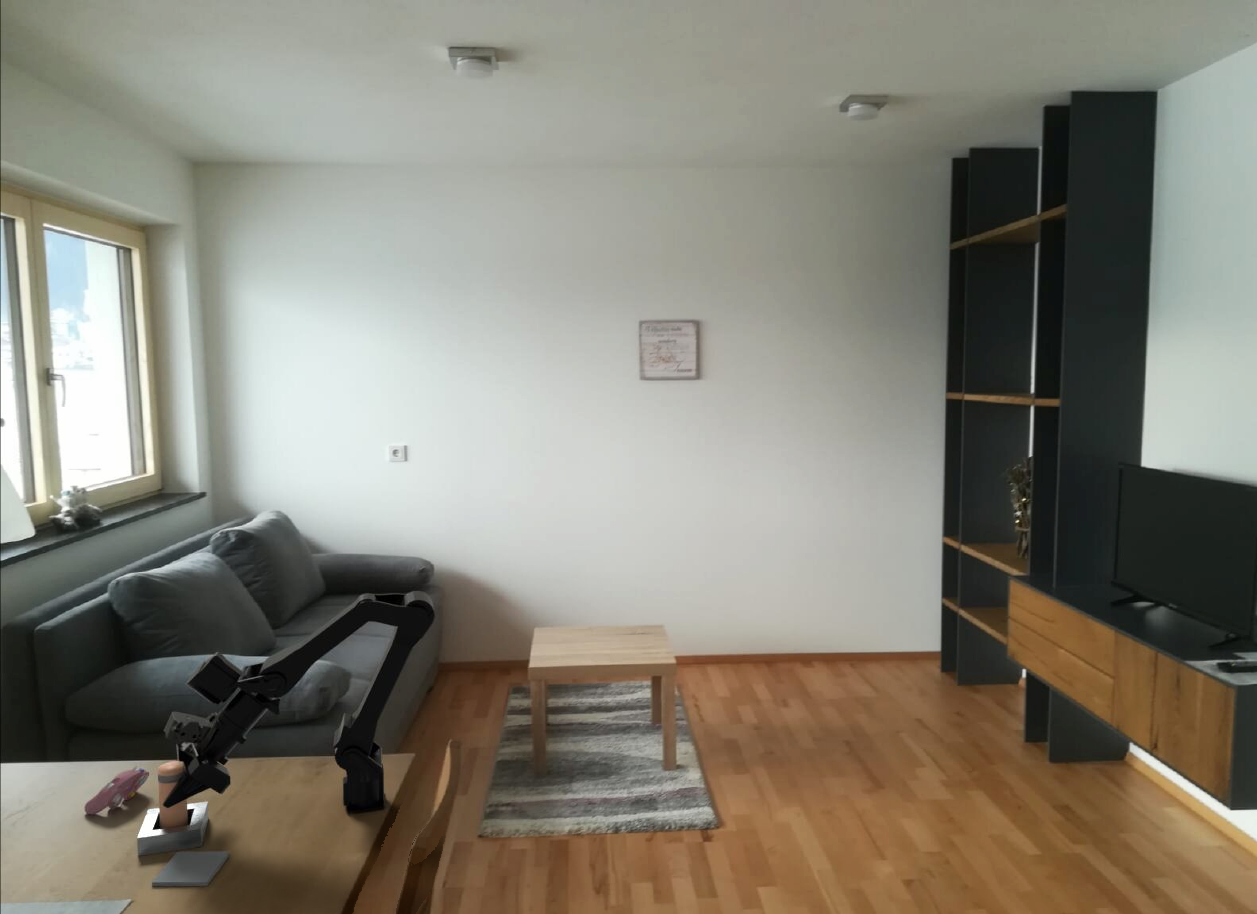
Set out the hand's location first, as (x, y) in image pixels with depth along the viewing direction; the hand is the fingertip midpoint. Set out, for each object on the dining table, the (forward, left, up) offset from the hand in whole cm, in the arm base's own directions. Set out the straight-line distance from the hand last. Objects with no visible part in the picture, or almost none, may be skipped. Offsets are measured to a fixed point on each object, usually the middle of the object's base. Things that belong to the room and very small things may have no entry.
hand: (163, 800), depth 139 cm
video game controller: (+10, -15, -7) cm, 19 cm away
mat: (-5, +11, -7) cm, 14 cm away
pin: (-1, 0, -7) cm, 7 cm away
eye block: (-1, 0, -7) cm, 7 cm away
